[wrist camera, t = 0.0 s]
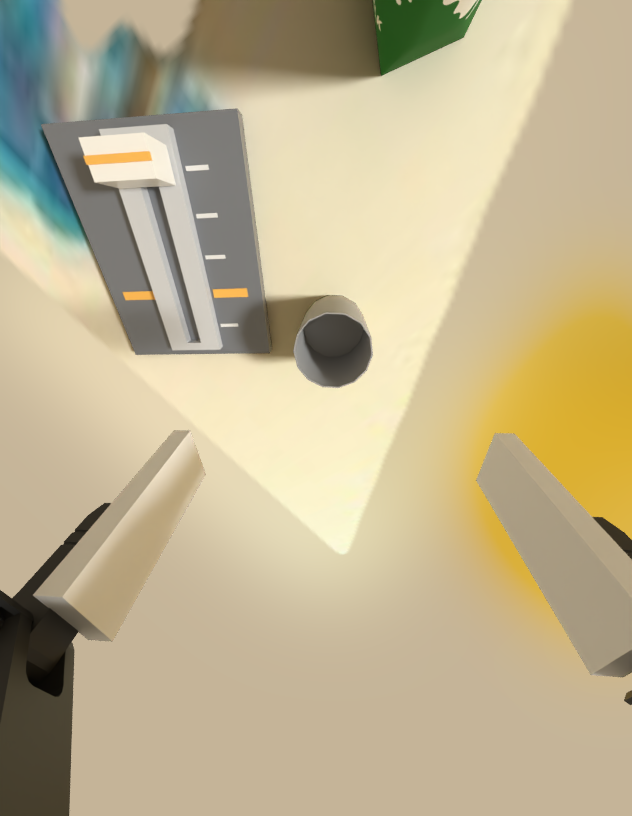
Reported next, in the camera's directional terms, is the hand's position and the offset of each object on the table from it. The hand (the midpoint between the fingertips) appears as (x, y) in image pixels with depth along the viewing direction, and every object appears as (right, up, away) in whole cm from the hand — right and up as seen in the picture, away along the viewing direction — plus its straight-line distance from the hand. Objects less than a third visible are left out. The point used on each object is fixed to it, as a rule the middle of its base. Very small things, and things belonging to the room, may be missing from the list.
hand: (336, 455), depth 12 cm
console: (-18, +21, +21) cm, 35 cm away
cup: (+1, +13, +25) cm, 28 cm away
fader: (-18, +27, +16) cm, 36 cm away
